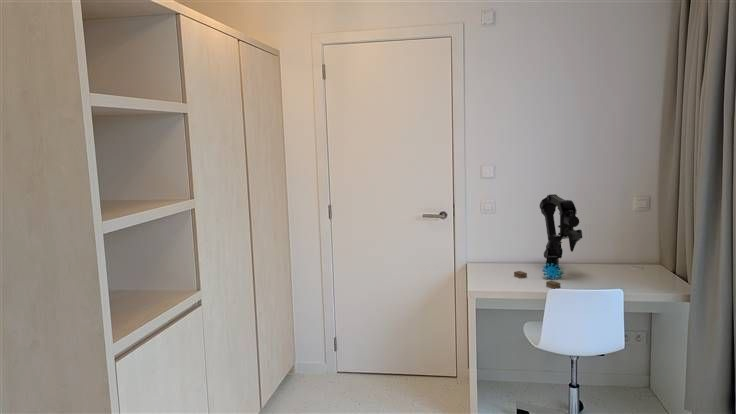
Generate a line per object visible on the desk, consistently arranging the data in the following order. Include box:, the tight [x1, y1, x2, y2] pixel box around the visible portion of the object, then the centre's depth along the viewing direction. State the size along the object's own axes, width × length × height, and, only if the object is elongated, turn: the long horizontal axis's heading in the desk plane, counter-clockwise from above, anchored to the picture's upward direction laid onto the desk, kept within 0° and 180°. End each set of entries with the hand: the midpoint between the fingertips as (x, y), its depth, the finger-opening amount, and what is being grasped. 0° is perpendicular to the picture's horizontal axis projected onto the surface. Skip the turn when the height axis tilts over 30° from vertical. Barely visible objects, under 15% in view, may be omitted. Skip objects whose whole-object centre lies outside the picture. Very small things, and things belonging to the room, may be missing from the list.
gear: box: [542, 263, 565, 281], centre depth 292 cm, size 11×6×10 cm
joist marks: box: [513, 270, 561, 289], centre depth 286 cm, size 4×29×2 cm, turn 27°
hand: (565, 252), depth 292 cm, fingers open, 9 cm apart
